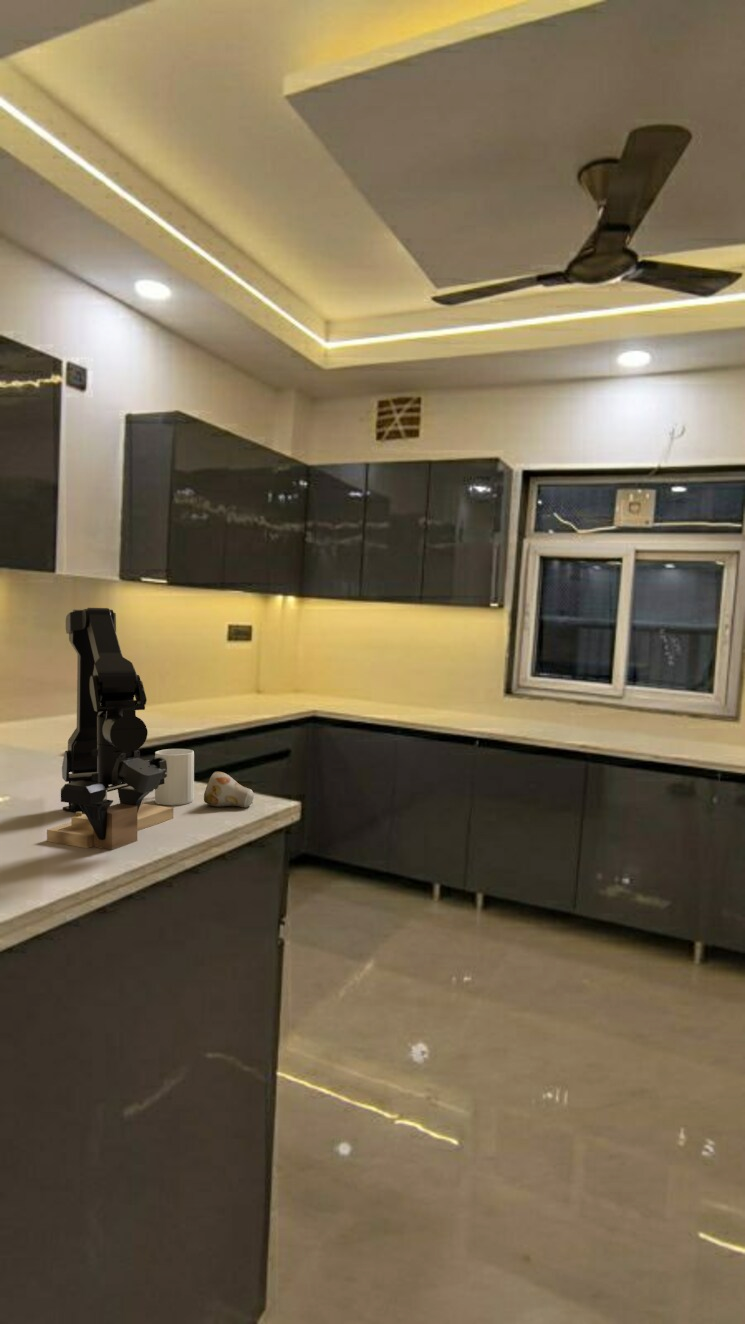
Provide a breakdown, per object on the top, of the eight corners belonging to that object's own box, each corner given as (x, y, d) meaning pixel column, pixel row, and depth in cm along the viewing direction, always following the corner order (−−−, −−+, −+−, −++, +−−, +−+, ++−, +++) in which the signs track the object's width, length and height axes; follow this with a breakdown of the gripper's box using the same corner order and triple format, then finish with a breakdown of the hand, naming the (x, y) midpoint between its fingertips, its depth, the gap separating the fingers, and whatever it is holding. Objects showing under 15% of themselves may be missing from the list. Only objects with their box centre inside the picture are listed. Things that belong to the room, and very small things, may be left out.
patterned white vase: (252, 812, 150) (227, 771, 148) (214, 829, 153) (188, 788, 151) (265, 796, 157) (241, 755, 155) (228, 812, 160) (204, 773, 158)
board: (46, 841, 127) (46, 829, 127) (136, 812, 147) (136, 802, 147) (87, 848, 123) (87, 835, 123) (173, 818, 143) (173, 807, 143)
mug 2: (193, 805, 154) (193, 754, 154) (153, 806, 153) (153, 755, 152) (194, 792, 166) (194, 745, 166) (157, 793, 164) (157, 746, 164)
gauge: (63, 841, 127) (63, 806, 127) (89, 832, 132) (89, 799, 132) (112, 849, 123) (112, 813, 122) (137, 840, 128) (137, 805, 128)
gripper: (112, 755, 114) (112, 856, 114) (189, 739, 131) (189, 827, 131) (57, 749, 118) (58, 847, 119) (139, 734, 135) (139, 820, 136)
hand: (115, 834), depth 126 cm, fingers closed on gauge, 6 cm apart
